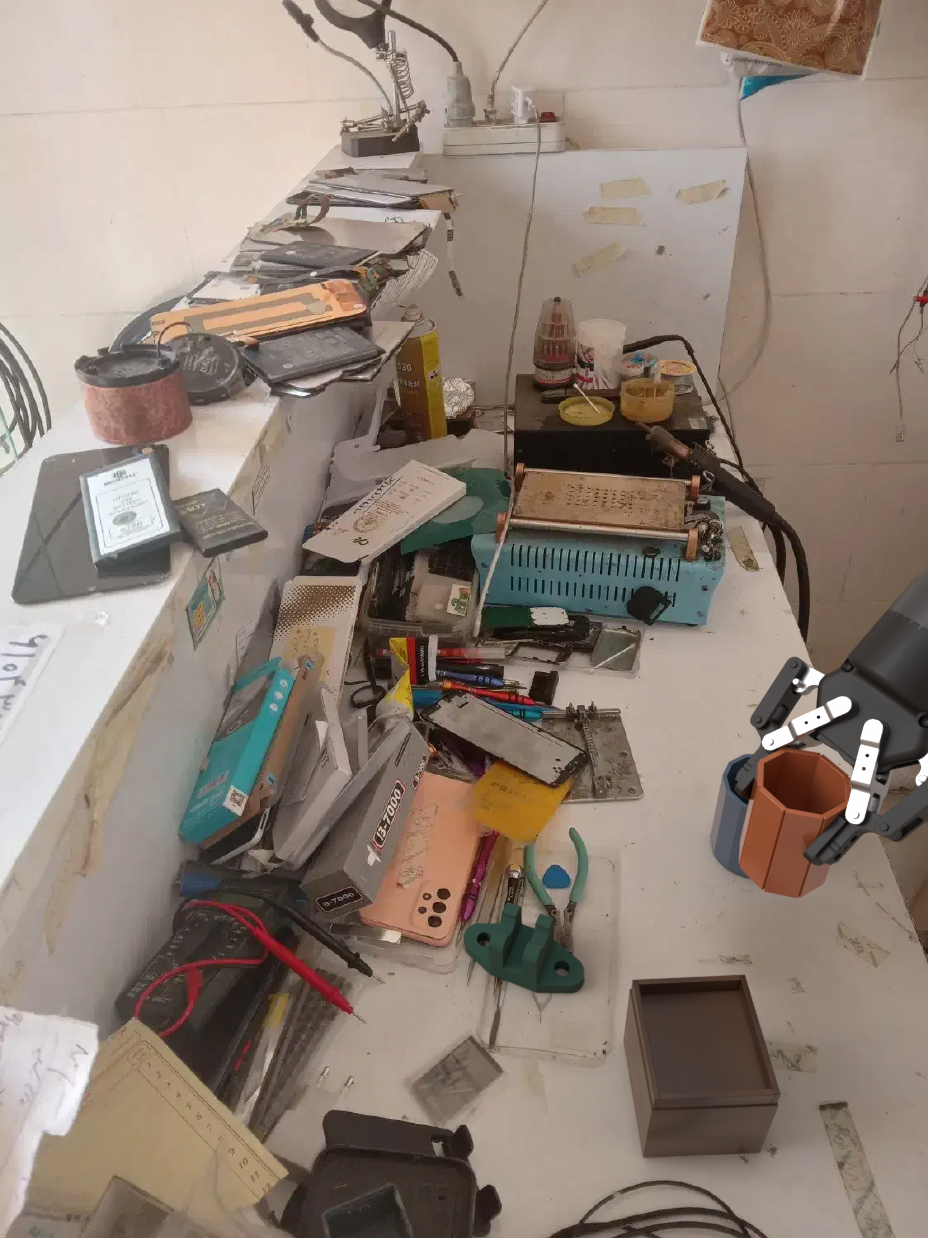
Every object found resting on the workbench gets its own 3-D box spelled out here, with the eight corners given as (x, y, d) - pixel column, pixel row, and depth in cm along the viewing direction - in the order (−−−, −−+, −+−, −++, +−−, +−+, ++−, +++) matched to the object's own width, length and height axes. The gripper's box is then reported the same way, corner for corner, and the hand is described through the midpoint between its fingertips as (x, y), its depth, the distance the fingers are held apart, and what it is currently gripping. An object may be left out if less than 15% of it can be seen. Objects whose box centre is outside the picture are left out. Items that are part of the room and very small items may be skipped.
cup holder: (728, 1035, 66) (746, 973, 60) (759, 1153, 59) (782, 1096, 53) (623, 1039, 66) (630, 978, 60) (642, 1157, 59) (653, 1101, 54)
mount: (455, 961, 72) (451, 929, 69) (475, 918, 75) (472, 886, 72) (574, 1007, 68) (576, 976, 65) (590, 960, 71) (592, 928, 68)
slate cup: (802, 859, 78) (823, 793, 72) (746, 891, 76) (762, 826, 70) (750, 808, 83) (765, 743, 77) (695, 837, 81) (707, 772, 75)
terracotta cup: (841, 873, 60) (871, 793, 55) (780, 910, 59) (804, 831, 53) (781, 817, 65) (803, 737, 59) (722, 849, 63) (739, 770, 57)
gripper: (835, 567, 57) (682, 750, 60) (1034, 688, 47) (836, 900, 50) (871, 603, 62) (728, 770, 65) (1058, 719, 52) (877, 911, 55)
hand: (776, 826), depth 58 cm, fingers closed on terracotta cup, 6 cm apart
